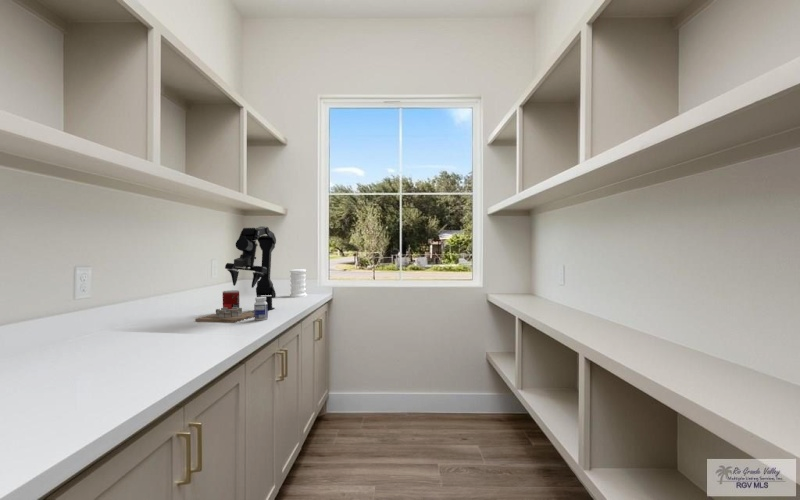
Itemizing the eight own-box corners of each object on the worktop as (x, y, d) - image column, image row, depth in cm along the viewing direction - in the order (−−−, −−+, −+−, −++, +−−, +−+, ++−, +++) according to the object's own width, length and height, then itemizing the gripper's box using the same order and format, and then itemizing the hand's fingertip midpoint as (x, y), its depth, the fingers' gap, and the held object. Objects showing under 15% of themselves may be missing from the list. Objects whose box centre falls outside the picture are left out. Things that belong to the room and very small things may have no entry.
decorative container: (295, 297, 278) (295, 270, 278) (286, 296, 286) (285, 270, 286) (310, 296, 286) (310, 269, 286) (300, 295, 294) (300, 269, 294)
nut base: (223, 314, 206) (223, 305, 206) (260, 315, 201) (260, 306, 201) (195, 321, 186) (195, 311, 186) (235, 322, 182) (235, 312, 182)
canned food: (234, 314, 207) (234, 291, 207) (219, 313, 208) (219, 291, 208) (242, 311, 215) (242, 290, 215) (228, 311, 216) (227, 290, 216)
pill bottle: (260, 318, 193) (260, 296, 193) (270, 318, 191) (270, 296, 191) (251, 320, 187) (251, 297, 187) (262, 320, 185) (261, 298, 185)
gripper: (221, 249, 192) (215, 282, 190) (259, 252, 189) (253, 287, 187) (234, 253, 203) (228, 285, 200) (270, 256, 200) (264, 289, 197)
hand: (243, 286), depth 196 cm, fingers open, 9 cm apart
